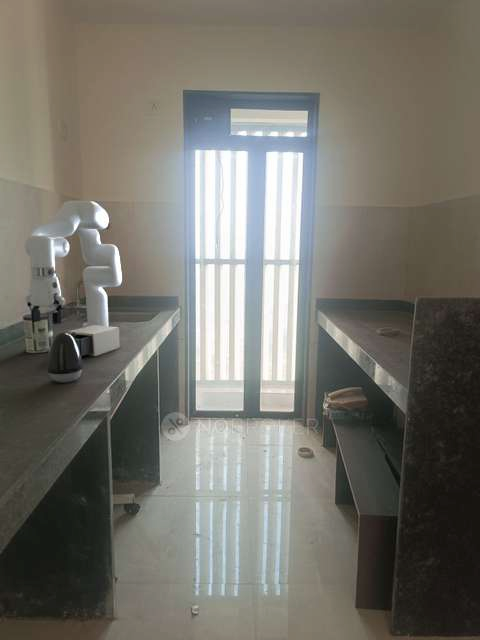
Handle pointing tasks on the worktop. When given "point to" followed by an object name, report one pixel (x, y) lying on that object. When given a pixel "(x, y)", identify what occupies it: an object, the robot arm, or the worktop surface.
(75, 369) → the dark grey rounded dome
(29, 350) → the coffee can
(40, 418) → the worktop surface
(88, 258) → the robot arm
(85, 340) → the dark grey storage bin
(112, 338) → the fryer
